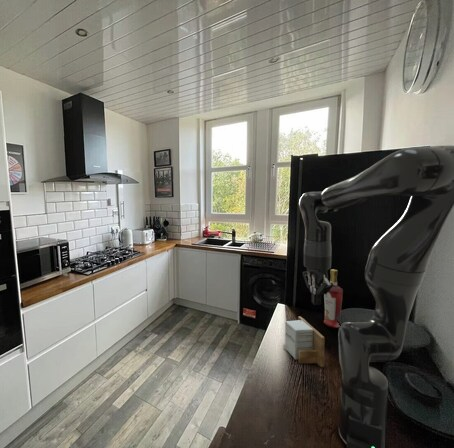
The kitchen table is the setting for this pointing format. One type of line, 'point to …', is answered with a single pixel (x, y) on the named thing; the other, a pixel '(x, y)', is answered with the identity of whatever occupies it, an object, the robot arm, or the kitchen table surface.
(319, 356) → the wooden stand
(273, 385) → the kitchen table surface
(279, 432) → the kitchen table surface
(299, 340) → the white packaging box
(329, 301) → the liquor
